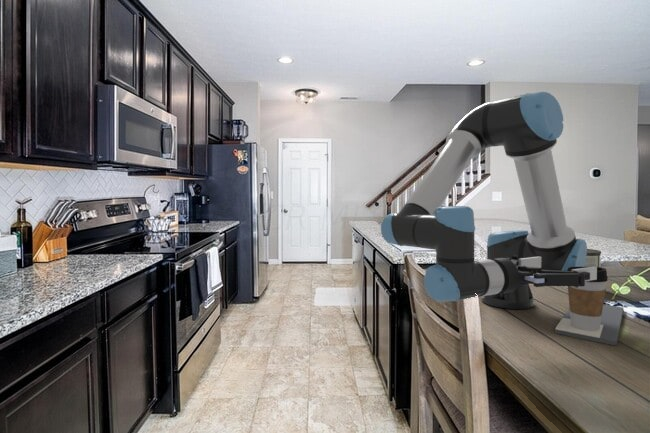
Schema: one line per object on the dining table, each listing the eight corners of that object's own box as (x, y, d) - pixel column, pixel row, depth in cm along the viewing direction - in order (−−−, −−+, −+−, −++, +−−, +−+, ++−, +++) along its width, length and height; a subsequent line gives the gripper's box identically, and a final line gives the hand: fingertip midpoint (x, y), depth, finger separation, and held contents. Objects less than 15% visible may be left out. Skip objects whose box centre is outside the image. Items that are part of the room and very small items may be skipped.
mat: (616, 345, 83) (616, 340, 82) (554, 333, 91) (555, 328, 90) (623, 310, 106) (623, 306, 106) (574, 303, 114) (574, 299, 114)
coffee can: (559, 285, 137) (560, 248, 136) (588, 285, 136) (589, 248, 135) (575, 292, 127) (576, 252, 126) (607, 292, 126) (608, 252, 125)
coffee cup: (610, 335, 85) (612, 272, 85) (568, 329, 89) (569, 269, 88) (601, 323, 93) (602, 265, 92) (562, 319, 97) (563, 263, 96)
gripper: (455, 280, 90) (521, 272, 97) (543, 311, 67) (623, 297, 73) (454, 251, 90) (521, 244, 96) (544, 271, 66) (624, 260, 73)
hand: (565, 267), depth 85 cm, fingers open, 13 cm apart
